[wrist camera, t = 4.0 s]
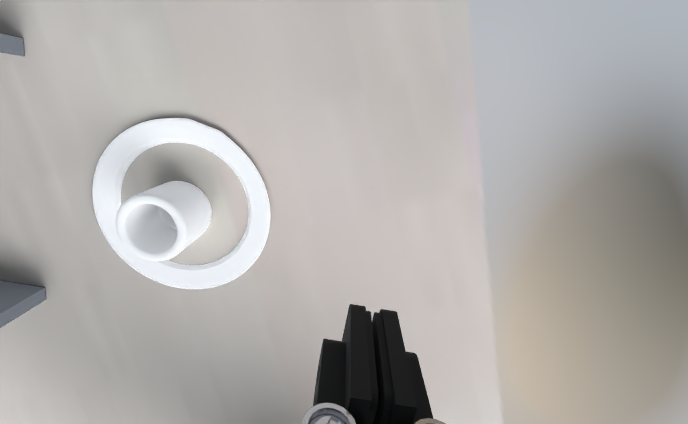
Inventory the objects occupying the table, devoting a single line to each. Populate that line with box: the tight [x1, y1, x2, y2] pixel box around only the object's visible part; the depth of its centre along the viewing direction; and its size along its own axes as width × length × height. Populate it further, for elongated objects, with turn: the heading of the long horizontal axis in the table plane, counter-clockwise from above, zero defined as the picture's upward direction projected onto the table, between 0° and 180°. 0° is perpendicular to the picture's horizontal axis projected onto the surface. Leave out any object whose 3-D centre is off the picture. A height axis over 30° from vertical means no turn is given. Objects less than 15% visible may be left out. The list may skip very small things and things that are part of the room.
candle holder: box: [92, 118, 271, 289], centre depth 22 cm, size 12×12×4 cm
